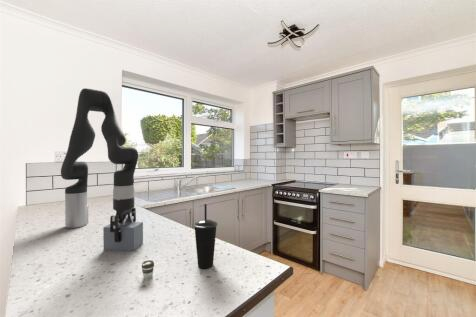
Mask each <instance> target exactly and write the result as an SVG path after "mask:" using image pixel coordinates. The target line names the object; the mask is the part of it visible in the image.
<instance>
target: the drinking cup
mask: <svg viewBox="0 0 476 317" xmlns="http://www.w3.org/2000/svg"><path fill="white" fill-rule="evenodd" d="M207 207H208V206H207V203H205V204H204V209H203V210H204V211H203V212H204V213H203V214H204V218H203V219H201V220H198V221H196V222H194V223H193V228H194V234H195V248H196V257H197V260H196V261H197V267H198V268H199V269H200V270H209V269H211V268H212V267H214V259H215V246H216V236H217V234H216V233H217V226H218V222H217V221H214V220H212V219H208V218H207V215H208V214H207V210H208V209H207Z"/></svg>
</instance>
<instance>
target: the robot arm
mask: <svg viewBox="0 0 476 317" xmlns="http://www.w3.org/2000/svg"><path fill="white" fill-rule="evenodd" d="M89 112H98V113H103V115H104V119H103V121H102V123H101V127H100V129H101V130H100V131H101V134H102V137H103V138H104V140H105V142H106V147H107V158H108V160H109V161H110V162H111V163H112V164H114V165H124V167H123V168H122V169H119V170H116V171H114V173H113V190H112V209H113V210H114V211H115V212H116V214H115V215H111V216H110V218H109V220H110V221H109V222H110V223H109V224H110V232H114V237H115V239H114V240H115V242H121V230H122V227H123V226H124V225H125V223H126V222H137V210H136V209H137V208H136V207H135V185H134V184H135V183H134V181H135V180H134V179H135V178H134V175H135V172H136V169H137V168H136V167H137V164H138V160H139V152H138V150H137V149H136V147H134V146H124V145H125V144H126V141H127V140H126V139H127V138H126V137H125V134H124V132H123V131H122V128H121V127H120V125H119V122H118V118H117V115H116V111H115V109H114V105H113V101H112V99H111V97H110V95H109V94H108V93H107V92H106V91H103V90H97V89H93V88H82V89H81V90H80V92H79V96H78V100H77V106H76V113H75V118H74V119H75V120H74V123H73V126H72V131H71V134H70V137H69V141H68V142H69V143H68V147H67V151H66V154H65V156H64V160H63V162H62V165H61V168H60V177H61V179H63V180H66V181H70V180H77V182H75V183H74V184H72V185H69V186H66V187H65V189H64V211H65V212H64V215H65V216H64V220H65V221H64V222H65V223H64V225H65V226H64V227H65V228H67V229H74V228H75V229H76V228H81V227H83V226H87V225H88V224H89V205H88V181H89V180H88V178H89V176H88V175H89V165H88V163H87V162H86V161H78V159H80V158H81V157H82V156H83V155H85V154H86V153H88V152H89V150H90V149H91V148H92V147H93V145H94V141H95V138H96V132H95V130H94V128H93V126H92V124H91V123H90V120H89V118H88V117H89V116H88V115H89ZM119 223H121V224H119ZM113 226H114V229H113ZM118 226H120V227H119V229H118Z"/></svg>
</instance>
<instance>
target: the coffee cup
mask: <svg viewBox="0 0 476 317" xmlns="http://www.w3.org/2000/svg"><path fill="white" fill-rule="evenodd" d="M154 267H155V262H154V260H149V259H148V260H145V261H143V262H142V264H141V271H142V272H141V273H142V276H143V280H149V279H150V280H151V279H152V278H153V276H154V275H153V274H154Z"/></svg>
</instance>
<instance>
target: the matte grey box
mask: <svg viewBox="0 0 476 317" xmlns="http://www.w3.org/2000/svg"><path fill="white" fill-rule="evenodd" d="M119 224H121V223H119ZM119 227H120V226H118V229H119ZM102 228H103V234H102V235H103V251H113V252H114V251H115V252H117V251H120V252H125V251H126V252H129V251H130V252H132V251H136V250H137V249H138V248H139V247H141V246H142V245H143V244H144V221H136V222H126V223H125V225H124V226H123V227H122V230H121V242H115V240H114V239H115V237H114V232H110V223H109V224H107V225H106V226H104V227H102ZM113 229H114V226H113Z"/></svg>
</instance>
